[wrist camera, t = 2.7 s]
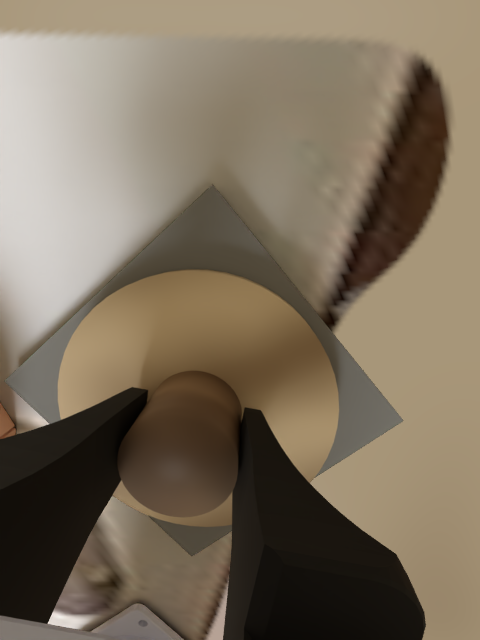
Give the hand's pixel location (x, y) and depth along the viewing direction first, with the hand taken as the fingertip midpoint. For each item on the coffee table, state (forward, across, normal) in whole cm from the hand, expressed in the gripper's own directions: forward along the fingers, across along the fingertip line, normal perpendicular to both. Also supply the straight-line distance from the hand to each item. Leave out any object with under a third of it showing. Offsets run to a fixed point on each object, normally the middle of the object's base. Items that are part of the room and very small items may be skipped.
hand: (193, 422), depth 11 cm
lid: (+2, 0, 0) cm, 2 cm away
